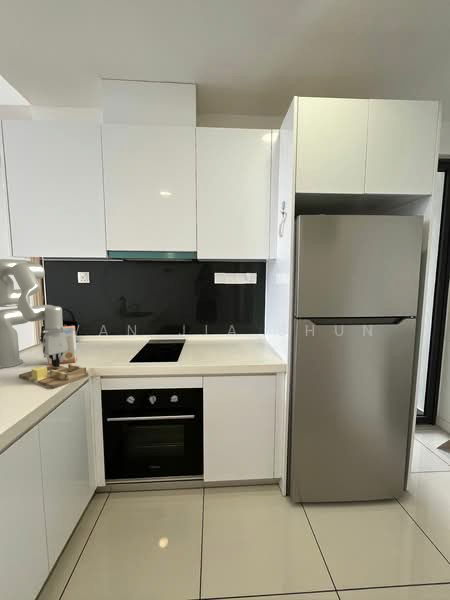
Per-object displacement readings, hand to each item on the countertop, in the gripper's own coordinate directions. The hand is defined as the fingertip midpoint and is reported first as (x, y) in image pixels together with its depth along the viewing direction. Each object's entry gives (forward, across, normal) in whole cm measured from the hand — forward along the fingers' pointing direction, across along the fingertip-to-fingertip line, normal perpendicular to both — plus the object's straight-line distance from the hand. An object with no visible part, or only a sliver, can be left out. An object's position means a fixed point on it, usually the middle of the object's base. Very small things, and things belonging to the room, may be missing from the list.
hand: (56, 366), depth 136 cm
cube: (+3, -9, -2) cm, 9 cm away
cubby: (+2, 0, -11) cm, 11 cm away
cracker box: (+5, +13, +16) cm, 21 cm away
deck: (+4, -3, -3) cm, 6 cm away
